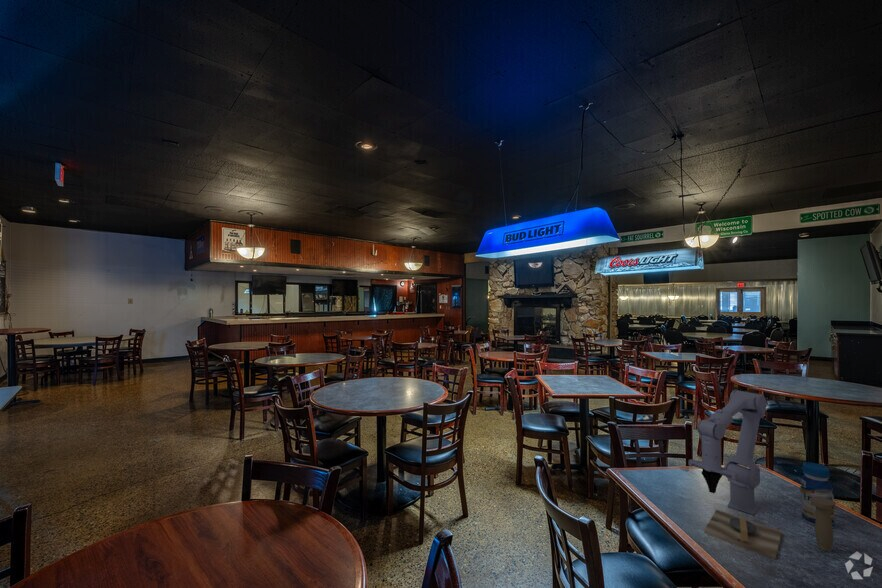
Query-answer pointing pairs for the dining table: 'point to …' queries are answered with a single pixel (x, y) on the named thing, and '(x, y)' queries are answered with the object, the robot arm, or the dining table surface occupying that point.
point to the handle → (823, 522)
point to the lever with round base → (743, 527)
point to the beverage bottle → (814, 490)
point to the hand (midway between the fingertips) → (712, 491)
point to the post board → (759, 542)
